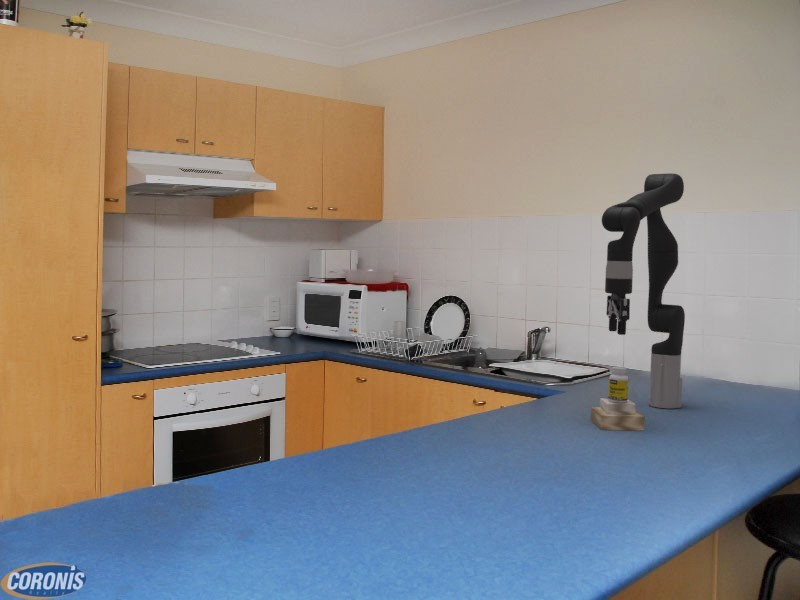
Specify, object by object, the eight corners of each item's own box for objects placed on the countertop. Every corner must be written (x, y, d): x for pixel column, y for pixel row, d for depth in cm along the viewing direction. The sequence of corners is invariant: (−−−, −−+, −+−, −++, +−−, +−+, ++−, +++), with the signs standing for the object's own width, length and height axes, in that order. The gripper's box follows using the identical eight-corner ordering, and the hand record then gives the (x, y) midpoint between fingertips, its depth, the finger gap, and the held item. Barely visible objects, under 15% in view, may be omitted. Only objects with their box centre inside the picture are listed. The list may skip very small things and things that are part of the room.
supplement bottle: (606, 401, 223) (607, 367, 222) (610, 398, 228) (611, 365, 227) (625, 404, 220) (627, 369, 220) (629, 400, 225) (630, 367, 225)
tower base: (631, 421, 231) (632, 397, 230) (644, 430, 219) (645, 405, 218) (590, 420, 231) (591, 396, 230) (601, 429, 219) (602, 405, 218)
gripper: (640, 278, 218) (637, 336, 219) (624, 275, 232) (622, 330, 233) (613, 277, 217) (611, 335, 219) (599, 275, 232) (597, 329, 233)
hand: (617, 332), depth 226 cm, fingers open, 8 cm apart
